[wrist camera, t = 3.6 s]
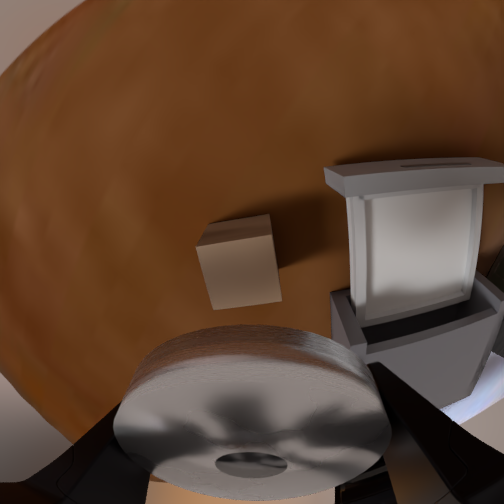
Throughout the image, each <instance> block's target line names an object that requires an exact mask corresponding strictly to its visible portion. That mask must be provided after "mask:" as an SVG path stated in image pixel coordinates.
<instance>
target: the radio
mask: <svg viewBox="0 0 504 504" xmlns="http://www.w3.org/2000/svg"><path fill="white" fill-rule="evenodd" d="M487 279H488V280H489V281H490V282H491V283H493V284H494V285H495V286H496V287H497V288H498V289H499V290H501V291H502V292H503V293H504V246H503V248H502V250H501V251H500V253H499V255H498V257H497V259H496V261H495V262H494V264H493V266H492V268H491V270H490V273H489V275H488V276H487ZM491 351H492V352H493V353H496V354H497V355H500V356H501V357H504V317H503V320H502V323H501V326H500V329H499V332H498V335H497V337H496V340H495V343H494V345H493V348H492V350H491Z"/></svg>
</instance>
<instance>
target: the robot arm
mask: <svg viewBox="0 0 504 504" xmlns="http://www.w3.org/2000/svg"><path fill="white" fill-rule="evenodd" d="M367 367H368V368H369V370H370V371H371V373H372V376H373V378H374V381H375V383H376V386H377V389H378V391H379V394H380V397H381V400H382V402H383V405H384V408H385V411H386V414H387V417H388V419H389V422H390V425H391V429H392V436H391V440H390V444H389V446H388V447H387V449H386V451H385V452H384V454H383V455H382V456H381V457H380V459H379V460H378V461H377V462H375V463H374V464H373V465H372V466H371V467H370V468H368V469H367V470H366V471H364V472H363V473H361V474H360V475H358V476H356V477H355V478H353V479H351V480H349V481H347V482H345V483H343V484H340V485H338V486H336V487H335V504H504V454H503V453H501V452H499V451H498V450H496V449H494V448H492V447H491V446H489V445H487V444H485V443H484V442H482V441H481V440H479V439H478V438H476V437H474V436H473V435H471V434H470V433H469V432H467V431H466V430H465V429H463V428H462V427H461V426H459V425H458V424H457V423H456V422H454V421H452V419H451V418H449V417H448V416H447V415H446V414H444V413H443V412H442V411H441V410H439V409H438V408H437V407H436V406H434V405H433V404H432V403H431V402H429V401H428V400H427V399H426V398H424V397H423V396H422V395H421V394H419V393H418V392H417V391H416V390H414V389H413V388H412V387H411V386H410V385H408V384H407V383H406V382H405V381H403V380H402V379H401V378H400V377H398V376H397V375H396V374H395V373H393V372H392V371H391V370H390V369H388V368H387V367H386V366H385V365H384V364H382V363H381V362H379V361H376V362H372V363H368V364H367ZM121 402H122V401H121ZM121 402H120V403H119V404H118V405H117V406H116V407H115V408H113V409H112V410H111V411H110V412H109V413H108V414H107V415H106V416H105V417H104V418H102V419H101V420H100V421H99V422H98V423H97V424H96V425H95V426H94V427H92V428H91V429H90V430H89V431H88V432H87V433H86V434H85V435H83V436H82V437H81V438H80V439H79V440H78V441H77V442H76V443H74V446H73V445H72V446H71V447H70V448H69V449H68V450H66V451H65V452H64V453H63V454H62V455H61V456H59V457H58V458H57V459H56V460H54V461H53V462H51V463H50V464H49V465H47V466H46V467H44V468H43V469H42V470H40V471H39V472H37V473H36V474H34V475H33V476H31V477H30V478H28V479H26V480H24V481H21V482H10V483H9V482H5V483H4V482H2V483H1V482H0V504H145V502H146V496H147V489H148V484H149V478H150V473H149V472H148V471H146V470H145V469H143V468H142V467H141V466H139V465H138V464H137V463H136V462H134V461H133V460H132V459H131V458H130V457H129V456H128V455H127V454H126V453H125V452H124V451H123V449H122V448H121V446H120V445H119V443H118V441H117V439H116V437H115V434H114V429H113V425H114V419H115V416H116V414H117V412H118V409H119V407H120V405H121Z"/></svg>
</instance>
